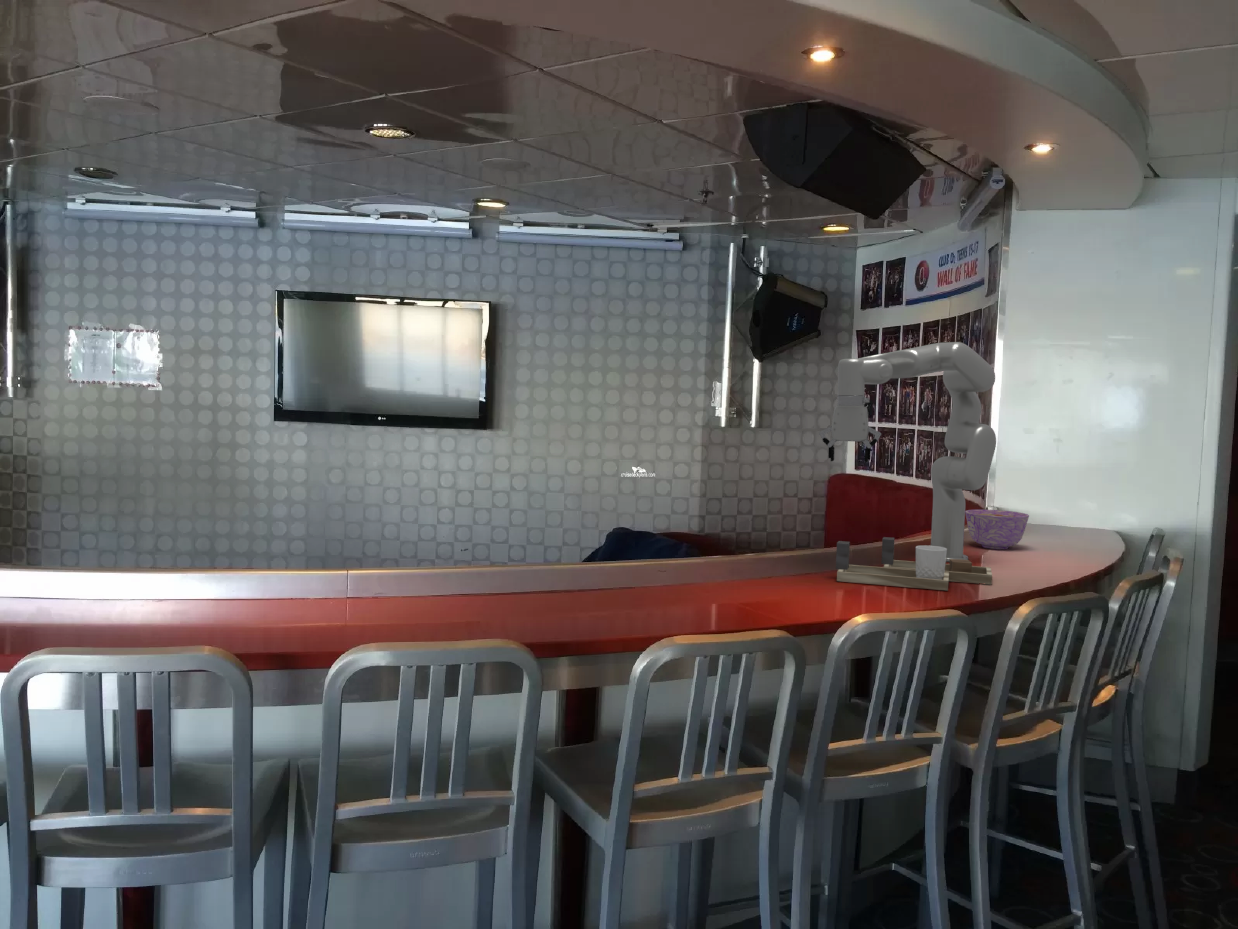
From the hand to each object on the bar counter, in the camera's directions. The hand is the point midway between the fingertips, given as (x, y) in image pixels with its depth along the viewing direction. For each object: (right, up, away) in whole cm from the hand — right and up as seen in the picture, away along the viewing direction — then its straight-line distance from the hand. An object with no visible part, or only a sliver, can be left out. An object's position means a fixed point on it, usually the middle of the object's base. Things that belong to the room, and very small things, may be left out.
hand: (849, 461), depth 281 cm
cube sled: (+22, -32, -11) cm, 40 cm away
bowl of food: (+60, -29, +46) cm, 81 cm away
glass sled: (+7, -32, -20) cm, 39 cm away
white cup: (+16, -33, -23) cm, 43 cm away
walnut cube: (+27, -32, -13) cm, 44 cm away
